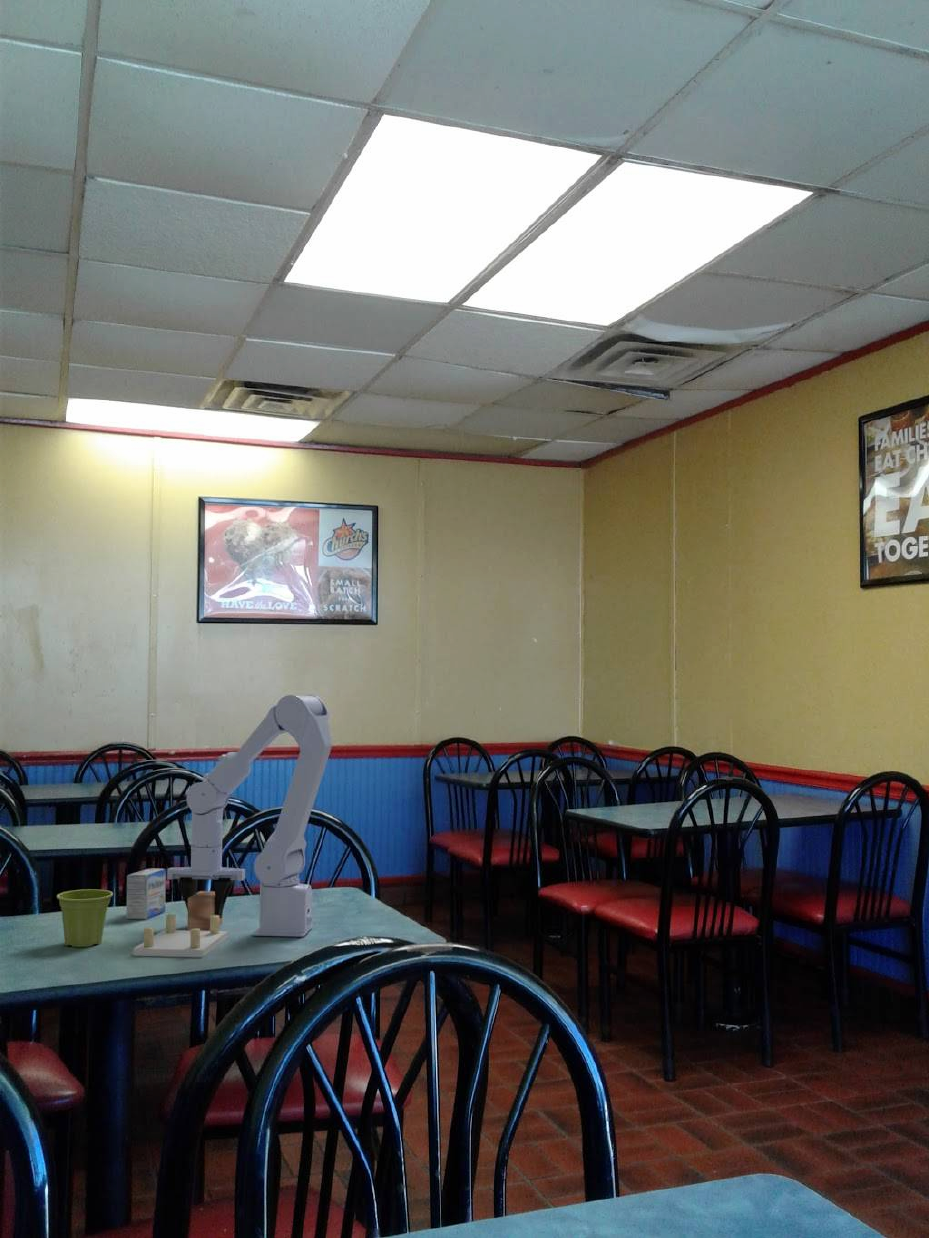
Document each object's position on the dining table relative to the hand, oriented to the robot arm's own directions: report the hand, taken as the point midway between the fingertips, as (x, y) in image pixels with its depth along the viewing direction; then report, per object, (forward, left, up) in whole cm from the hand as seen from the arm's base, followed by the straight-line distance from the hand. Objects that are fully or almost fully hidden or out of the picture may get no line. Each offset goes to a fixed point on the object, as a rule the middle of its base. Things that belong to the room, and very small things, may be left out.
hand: (205, 918), depth 203 cm
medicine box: (+15, -9, -2) cm, 18 cm away
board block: (0, 0, -2) cm, 2 cm away
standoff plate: (-1, +16, -2) cm, 16 cm away
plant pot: (+17, +15, -2) cm, 23 cm away
